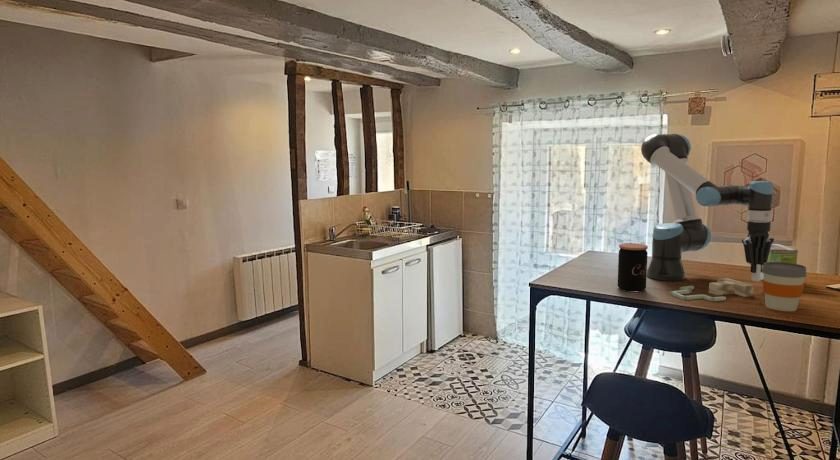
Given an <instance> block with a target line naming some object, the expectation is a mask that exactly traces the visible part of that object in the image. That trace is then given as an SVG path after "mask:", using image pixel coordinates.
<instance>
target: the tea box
mask: <svg viewBox="0 0 840 460" xmlns="http://www.w3.org/2000/svg"><path fill="white" fill-rule="evenodd" d="M797 261H798V249H795V248H792V247H790V246H787V245H785V244H784V245H783V244H779V243H772V244H771V248H770V252H769V256H768V260H767V262H785V263H793V264H798V263H797ZM767 262H766V263H767ZM762 270H763V265H762ZM762 279H764V276H763V272H762V271H761V273H760V281H762Z"/></svg>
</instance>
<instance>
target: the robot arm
mask: <svg viewBox="0 0 840 460" xmlns="http://www.w3.org/2000/svg"><path fill="white" fill-rule="evenodd" d="M640 146H641V147H640V149H641V150H640V151H641V152H640V153H641V155H642V157H643V158H644V159H645V160H646V162H648V163H649V164H650V165H652V166H655V167H656V166H657V167H658V168H660V169H661V170H662V171H664V173H665V177H666V182H667V186H668V187H667V188H668V191H669V197H670V201H671V205H672V209H673V213H674V221H673V222H668V223H667V222H665V223H661V224H660V223H659V224H657V225H655V226H654V228H653V233H652V242H651V243H652V244H651V245H652V250H651V259H650V261H649V266H648V267H647V276H646V277H647V278H649V277H650V279H652V278H653V279H652V280H658V281H669V282H679V281H684V280H685V279H686V272H685V269H684V266H683V263H682V255H683V253H684V252H685V253H686V252H696V251H701V250H703V249H705V248H706V247H708V246H709V244H710V242H711V240H712V239H711V238H712V232H711V229H710V228H709V226H707V225H706V224H704V223H703V221H702V220H703V219H702V218H701V217H699V216H698V215H697V211H696V207H695V202H694V198H693V195H695V199H696V201H697V204H699V205H700V206H702V207H709V208H711V207H717V206H718V207H719V206H730V205H740V206H741V205H742V206H743V205H744V206H748V209H747V210H748V211H747V225H746V227H747V228H746V230H747V232H748V234H747V237H746V238H745V239H743V238H742V240H741V242H742V245H743V249H744V254H745V255H744V256H745V261H746V263H747V264H749V265H750V280H751V281H753V282H761V279H760V273H761V271H762V265H764V263H766V262H767V260H768V256H769V252H770V248H771V244H774V243H773V242H774V241H775V239H774V238H773V237H770V235H769V232H771V224H772V223H771V222H770V221H771V220H772V203H773V196H774V195H773V194H774V190H773V189H774V188H773V182H772V181H770V180H769V181H768V180H752V181H750V182H749V185H733V184H730V185H729V184H728V185H723V186H718V185H716V184H714V183H713V182H711V180H709V179H708V178H707V177H705V176H704V175H702V174H701V173H699V172H698V171H697V170H695V169H694V168H693V167H691V166H689V164H687V162H688V161H689V160H688V157H689V155H690V152H691V150H692V149H691V147H692V145H691V142H690V140H689V139H688V138H687V137H686V136H685V135H682V134H679V133H670V134H669V133H668V134H665V133H661V134H660V133H656V134H652V135H649V136H648V137H646V138H645V139H644V140H643V141H642V144H641V145H640Z"/></svg>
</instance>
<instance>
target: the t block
mask: <svg viewBox="0 0 840 460" xmlns="http://www.w3.org/2000/svg"><path fill="white" fill-rule="evenodd" d="M754 287H755V285H753V284H749V283H746V282H742V281H739V280H736V279H731V278H730V277H729V278H728V277H722V278H721V277H719V278H717V281H713V282H709V285H708V293H709V294H712V295H714V296H723V294H725V295H733V294H735V295H737V294H738V296H740V297H744V298H745V297H746V298H747V297H753V296H754Z"/></svg>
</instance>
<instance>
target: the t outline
mask: <svg viewBox="0 0 840 460" xmlns="http://www.w3.org/2000/svg"><path fill="white" fill-rule="evenodd" d="M678 287H679V290H672V291H669V295H670V296H673V297H675V298H678V299H680V300H683V301H689V300H697V299H698V300H699V299H703V300H707V301H710V302H712V303H713V302H721V301H726V300H727V297H726V296H725V295H724V296H723V295H721V296H715V297H712V296H709V295H707V294H703V293H702V294H692V293H693V292H692V291H693V290H694V289H695V285H687V286H686V285H685V286H678ZM687 294H688V295H687ZM689 294H692V295H689Z"/></svg>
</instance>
